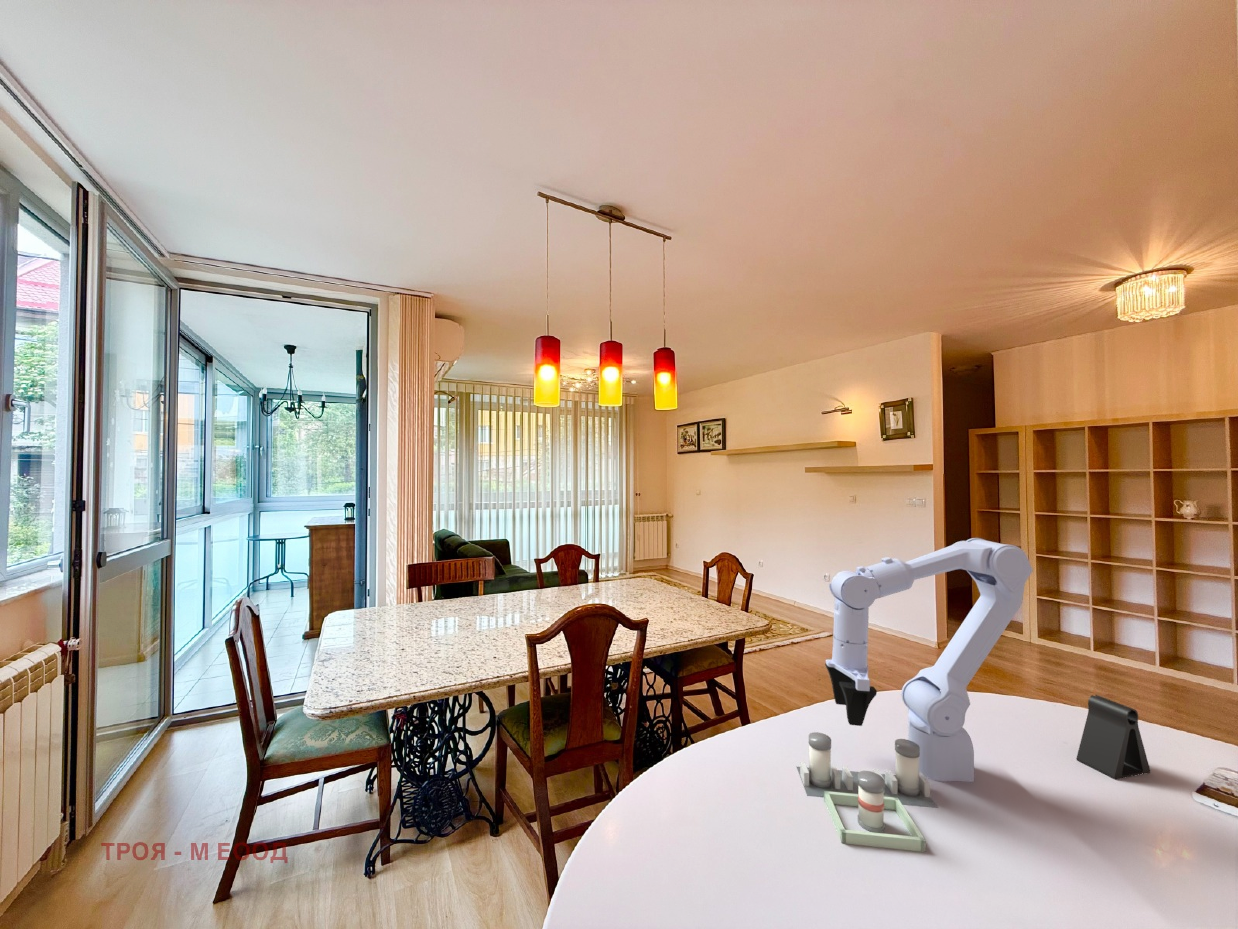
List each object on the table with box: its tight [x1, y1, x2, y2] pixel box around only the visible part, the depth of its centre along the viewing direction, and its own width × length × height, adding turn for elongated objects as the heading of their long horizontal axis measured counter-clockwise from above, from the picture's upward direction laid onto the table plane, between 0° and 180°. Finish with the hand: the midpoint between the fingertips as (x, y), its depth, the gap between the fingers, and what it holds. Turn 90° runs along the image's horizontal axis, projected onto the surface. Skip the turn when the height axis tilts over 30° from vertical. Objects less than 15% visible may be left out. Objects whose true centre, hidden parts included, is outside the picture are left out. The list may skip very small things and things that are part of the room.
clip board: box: [796, 762, 939, 809], centre depth 84 cm, size 20×8×3 cm, turn 82°
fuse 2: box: [894, 738, 920, 797], centre depth 83 cm, size 4×4×8 cm
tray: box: [823, 791, 927, 853], centre depth 75 cm, size 11×9×3 cm
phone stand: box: [1076, 694, 1151, 780], centre depth 92 cm, size 9×6×12 cm, turn 103°
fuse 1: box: [808, 731, 832, 789], centre depth 85 cm, size 4×4×8 cm
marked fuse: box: [857, 770, 885, 833], centre depth 75 cm, size 4×4×8 cm
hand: (848, 713), depth 90 cm, fingers open, 7 cm apart
